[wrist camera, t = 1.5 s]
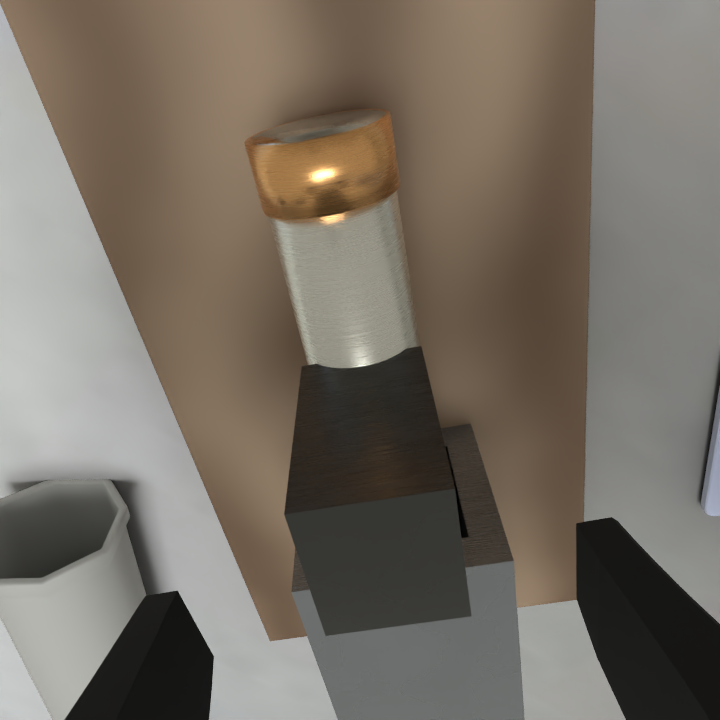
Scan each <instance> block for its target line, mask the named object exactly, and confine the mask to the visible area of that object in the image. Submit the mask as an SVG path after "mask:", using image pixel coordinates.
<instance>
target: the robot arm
mask: <svg viewBox="0 0 720 720" xmlns="http://www.w3.org/2000/svg"><path fill="white" fill-rule="evenodd" d="M701 507H702V509H703V510H704V512H705V513H706V514H707V515H710V516H720V387H719V394H718V400H717V406H716V412H715V418H714V424H713V431H712V437H711V443H710V449H709V455H708V462H707V468H706V474H705V480H704V486H703V493H702V499H701ZM576 598H577V601H578V604H579V607H580V610H581V613H582V616H583V619H584V621H585V624H586V627H587V630H588V633H589V636H590V639H591V641H592V644H593V647H594V650H595V653H596V655H597V658H598V660H599V662H600V665H601V667H602V669H603V671H604V673H605V675H606V678H607V680H608V682H609V684H610V686H611V688H612V691H613V693H614V695H615V697H616V699H617V701H618V703H619V706H620V708H621V710H622V712H623V714H624V716H625V718H626V720H720V624H719V623H718V622H717V621H716V620H715V619H714V618H713V617H712V616H711V615H710V614H708V613H707V612H706V611H705V610H704V609H703V608H702V607H701V606H700V605H699V604H698V603H697V602H696V601H695V600H693V599H692V598H691V597H690V596H689V595H688V594H687V593H686V592H685V591H684V590H683V589H682V588H681V587H680V586H679V585H678V584H677V583H676V582H675V581H674V580H673V579H672V578H671V577H670V576H669V575H668V574H667V573H666V572H665V571H664V570H663V569H662V568H661V567H660V566H659V565H658V564H657V563H656V562H655V561H654V560H653V559H652V558H651V557H650V556H649V554H648V553H647V552H646V551H645V550H644V549H643V548H642V547H641V546H640V545H639V544H638V543H637V542H636V541H635V540H634V539H633V537H632V536H631V535H630V534H629V533H628V532H627V531H626V530H625V529H624V528H623V527H622V526H621V524H620V523H619V522H618V521H616V520H615V519H613V518H612V517H611V518H605V519H599V520H593V521H587V522H581V523H576ZM213 659H214V656H213V654H212V653H211V651H210V649H209V647H208V645H207V643H206V642H205V640H204V638H203V636H202V634H201V633H200V631H199V629H198V627H197V625H196V624H195V622H194V620H193V618H192V616H191V614H190V613H189V611H188V609H187V607H186V605H185V604H184V602H183V600H182V598H181V596H180V595H179V593H178V591H173V592H167V593H161V594H155V595H149V596H145V597H144V599H143V600H142V602H141V603H140V605H139V606H138V608H137V609H136V611H135V612H134V614H133V615H132V617H131V618H130V620H129V621H128V623H127V625H126V626H125V628H124V629H123V631H122V632H121V634H120V636H119V637H118V639H117V640H116V642H115V643H114V645H113V646H112V648H111V650H110V651H109V653H108V654H107V656H106V657H105V659H104V660H103V662H102V664H101V665H100V667H99V668H98V670H97V671H96V673H95V674H94V676H93V678H92V679H91V681H90V682H89V684H88V685H87V687H86V688H85V690H84V691H83V693H82V694H81V696H80V697H79V699H78V700H77V702H76V703H75V705H74V706H73V708H72V709H71V711H70V712H69V713H68V715H67V716H66V718H65V719H64V720H209V712H210V701H211V690H212V675H213Z"/></svg>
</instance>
